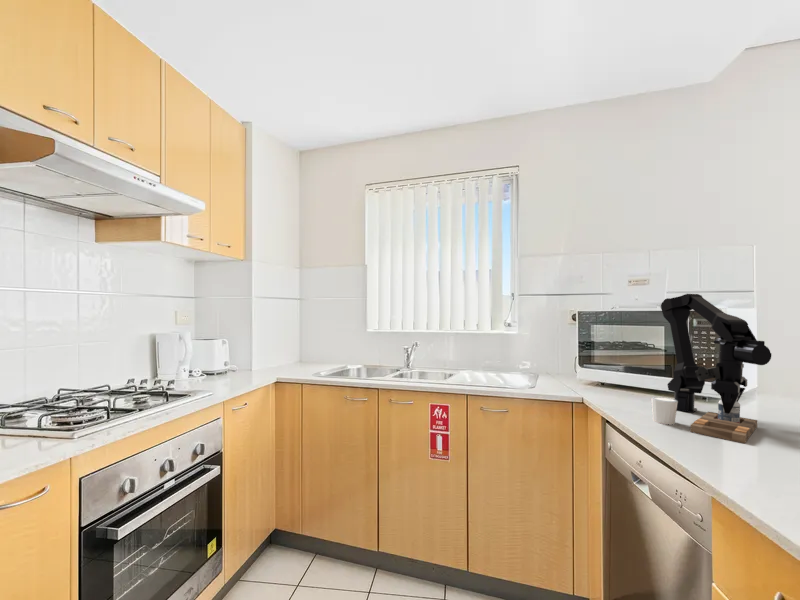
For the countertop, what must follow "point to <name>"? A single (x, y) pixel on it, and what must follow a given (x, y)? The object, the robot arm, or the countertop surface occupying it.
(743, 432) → the rail
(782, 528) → the countertop surface
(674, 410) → the white cylinder
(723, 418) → the pill bottle
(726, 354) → the robot arm
